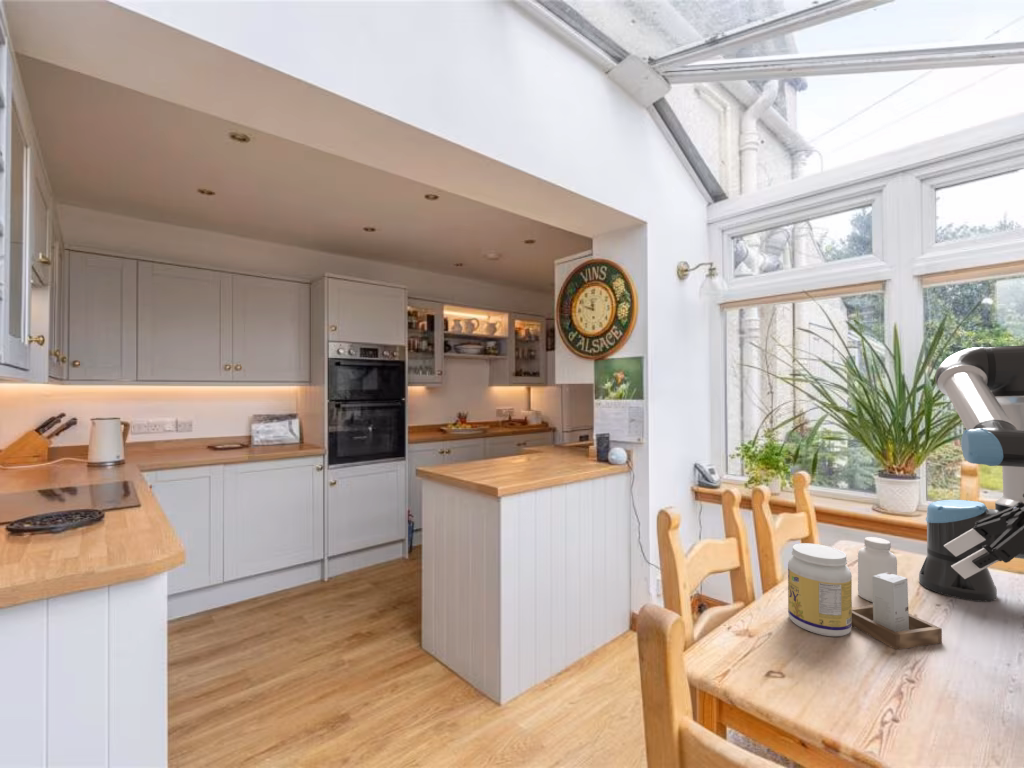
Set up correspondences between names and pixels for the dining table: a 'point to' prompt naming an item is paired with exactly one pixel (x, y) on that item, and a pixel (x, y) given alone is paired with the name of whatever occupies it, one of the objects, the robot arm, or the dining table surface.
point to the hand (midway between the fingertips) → (953, 561)
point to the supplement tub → (820, 589)
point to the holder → (914, 637)
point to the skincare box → (890, 601)
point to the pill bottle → (874, 564)
